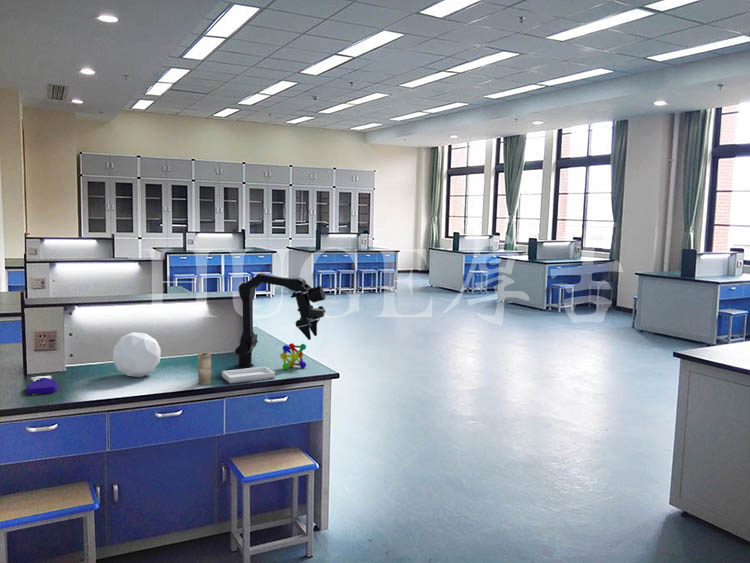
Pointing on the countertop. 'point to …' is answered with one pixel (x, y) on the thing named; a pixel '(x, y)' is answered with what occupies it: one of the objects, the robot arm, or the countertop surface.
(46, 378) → the spray bottle
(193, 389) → the countertop surface
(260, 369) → the grey tray
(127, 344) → the geometric polyhedron
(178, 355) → the countertop surface
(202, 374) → the maple post
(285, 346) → the molecular model
